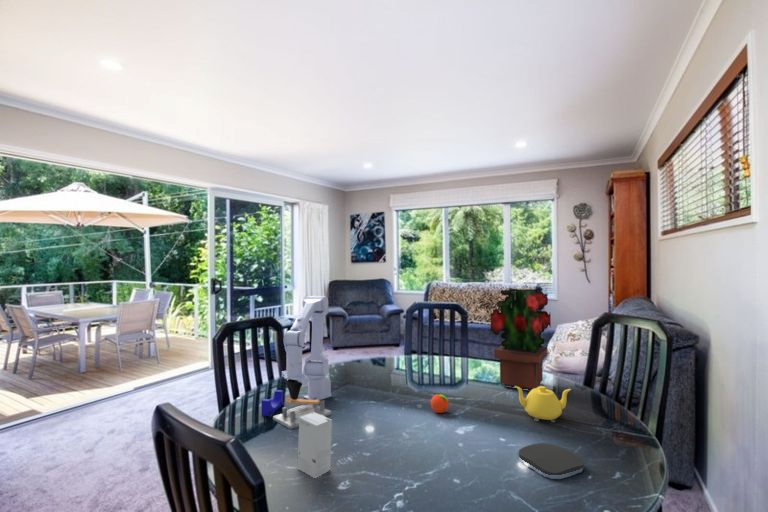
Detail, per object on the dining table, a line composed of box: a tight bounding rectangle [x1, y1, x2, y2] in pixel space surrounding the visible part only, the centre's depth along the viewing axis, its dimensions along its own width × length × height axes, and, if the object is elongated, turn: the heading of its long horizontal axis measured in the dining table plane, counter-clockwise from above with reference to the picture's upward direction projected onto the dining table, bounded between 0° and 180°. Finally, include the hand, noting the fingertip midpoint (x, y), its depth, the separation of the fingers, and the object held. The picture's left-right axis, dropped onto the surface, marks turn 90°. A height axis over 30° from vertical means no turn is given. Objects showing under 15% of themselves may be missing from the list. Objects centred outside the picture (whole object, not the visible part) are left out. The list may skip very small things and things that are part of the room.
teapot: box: [515, 385, 572, 421], centre depth 145 cm, size 20×15×12 cm
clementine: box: [430, 393, 450, 414], centre depth 150 cm, size 8×7×7 cm
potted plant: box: [489, 288, 552, 390], centre depth 181 cm, size 22×22×45 cm
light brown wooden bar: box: [285, 396, 321, 406], centre depth 147 cm, size 15×4×2 cm, turn 136°
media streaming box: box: [518, 442, 585, 475], centre depth 112 cm, size 15×15×3 cm
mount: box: [272, 397, 332, 430], centre depth 146 cm, size 18×12×5 cm, turn 136°
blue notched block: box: [261, 389, 284, 417], centre depth 154 cm, size 12×4×6 cm, turn 169°
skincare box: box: [296, 412, 333, 479], centre depth 109 cm, size 8×6×15 cm
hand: (294, 399), depth 144 cm, fingers closed, pressing on light brown wooden bar
